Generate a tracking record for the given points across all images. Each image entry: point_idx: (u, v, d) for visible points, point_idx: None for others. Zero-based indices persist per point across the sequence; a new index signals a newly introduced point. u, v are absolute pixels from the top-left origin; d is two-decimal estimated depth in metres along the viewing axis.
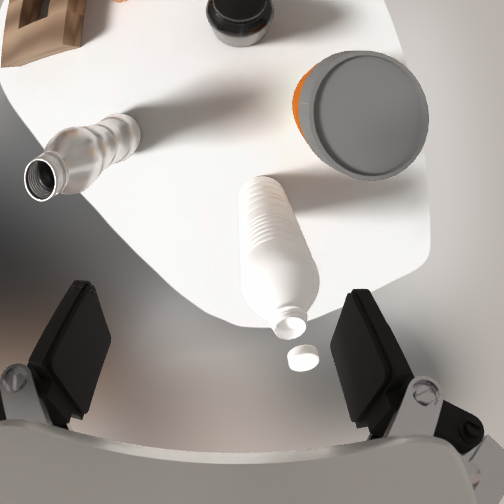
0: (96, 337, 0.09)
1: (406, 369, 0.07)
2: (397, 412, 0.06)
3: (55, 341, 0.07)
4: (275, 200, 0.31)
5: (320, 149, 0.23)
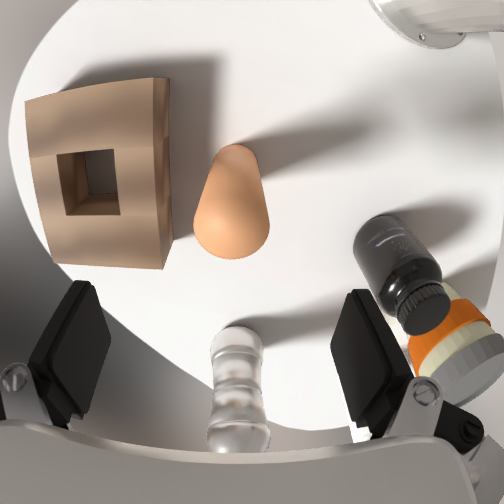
0: (96, 337, 0.09)
1: (406, 369, 0.07)
2: (397, 412, 0.06)
3: (55, 341, 0.07)
4: None
5: None
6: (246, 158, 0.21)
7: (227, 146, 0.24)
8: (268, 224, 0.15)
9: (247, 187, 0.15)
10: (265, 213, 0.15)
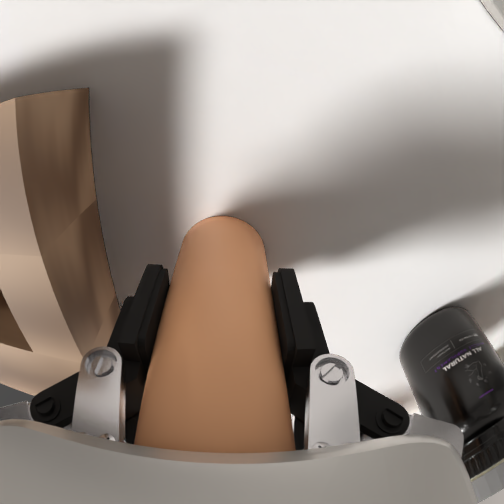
0: None
1: (311, 344, 0.07)
2: (309, 401, 0.06)
3: (143, 321, 0.08)
4: None
5: None
6: (244, 278, 0.09)
7: (206, 221, 0.13)
8: None
9: None
10: None
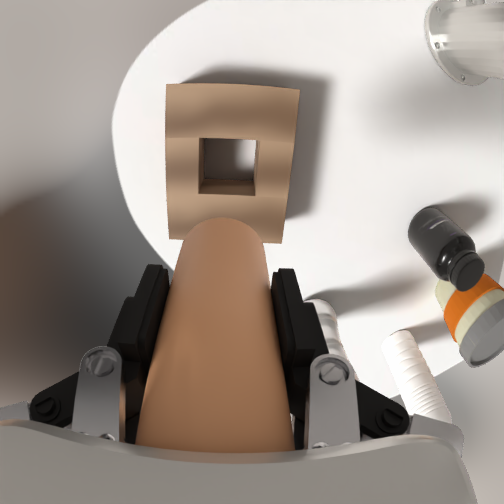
0: None
1: (311, 344, 0.07)
2: (309, 401, 0.06)
3: (143, 321, 0.08)
4: (424, 367, 0.40)
5: (468, 362, 0.32)
6: (244, 280, 0.09)
7: (206, 223, 0.13)
8: None
9: None
10: None
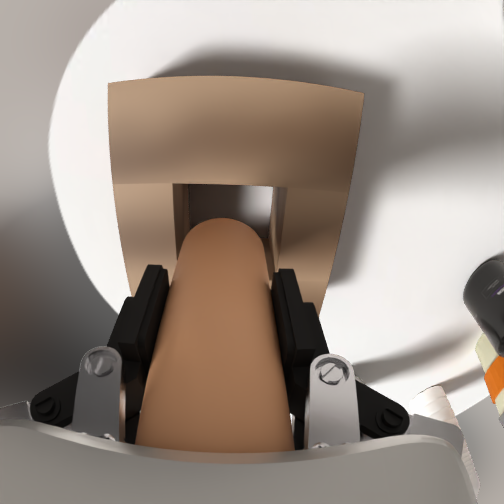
0: None
1: (311, 344, 0.07)
2: (309, 401, 0.06)
3: (143, 321, 0.08)
4: None
5: None
6: (244, 281, 0.09)
7: (206, 223, 0.13)
8: None
9: None
10: None
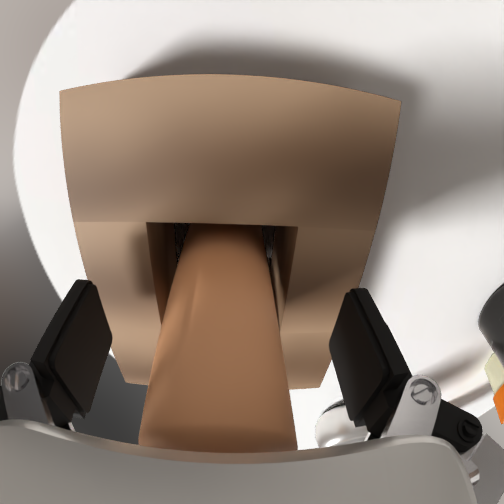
0: (98, 336, 0.09)
1: (404, 368, 0.07)
2: (395, 411, 0.06)
3: (57, 340, 0.07)
4: None
5: None
6: (244, 241, 0.12)
7: None
8: (295, 449, 0.06)
9: (250, 385, 0.06)
10: (291, 441, 0.06)
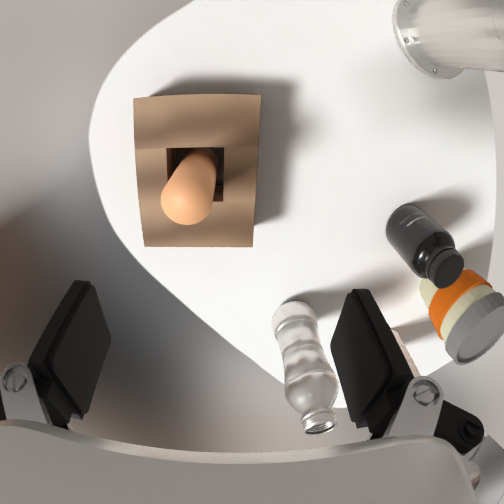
0: (96, 337, 0.09)
1: (406, 369, 0.07)
2: (397, 412, 0.06)
3: (55, 341, 0.07)
4: (410, 366, 0.41)
5: (455, 360, 0.32)
6: (204, 156, 0.27)
7: None
8: (211, 197, 0.22)
9: (197, 173, 0.22)
10: (208, 190, 0.21)
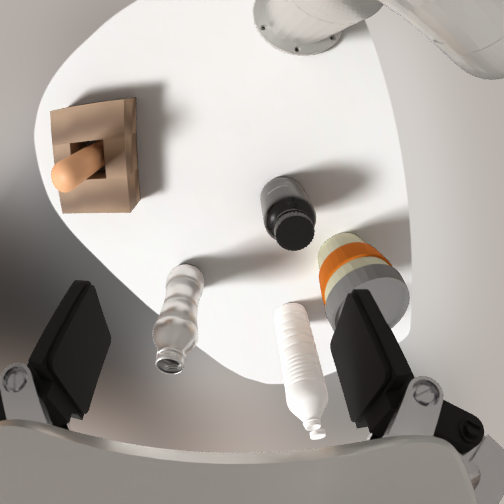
0: (96, 337, 0.09)
1: (406, 369, 0.07)
2: (397, 412, 0.06)
3: (55, 341, 0.07)
4: (303, 338, 0.47)
5: None
6: (93, 147, 0.34)
7: None
8: (76, 173, 0.28)
9: (71, 159, 0.28)
10: (74, 168, 0.28)
